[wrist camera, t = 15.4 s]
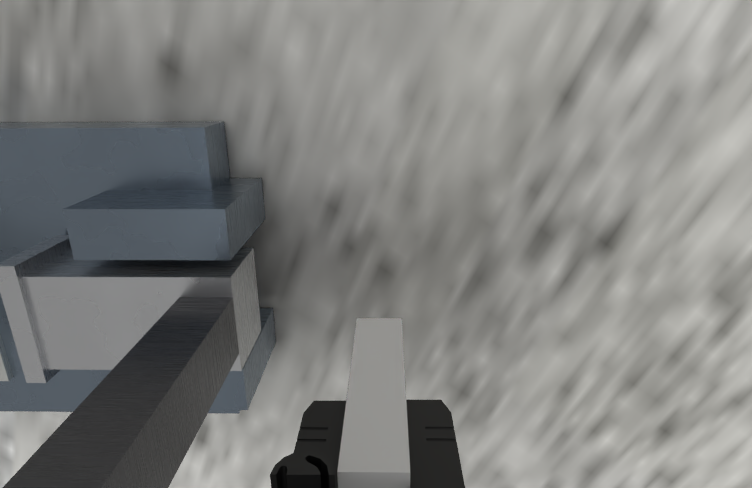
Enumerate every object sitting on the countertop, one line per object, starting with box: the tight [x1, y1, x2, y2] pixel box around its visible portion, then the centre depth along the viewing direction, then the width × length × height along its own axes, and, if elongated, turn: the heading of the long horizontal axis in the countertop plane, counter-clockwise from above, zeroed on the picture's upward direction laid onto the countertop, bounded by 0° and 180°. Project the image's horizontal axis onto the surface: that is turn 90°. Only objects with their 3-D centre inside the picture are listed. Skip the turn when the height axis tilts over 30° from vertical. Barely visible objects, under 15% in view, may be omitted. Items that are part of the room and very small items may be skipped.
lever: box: [0, 235, 261, 488], centre depth 13 cm, size 5×9×18 cm, turn 90°
